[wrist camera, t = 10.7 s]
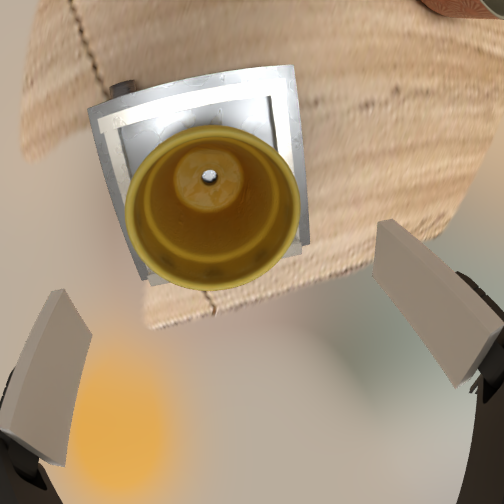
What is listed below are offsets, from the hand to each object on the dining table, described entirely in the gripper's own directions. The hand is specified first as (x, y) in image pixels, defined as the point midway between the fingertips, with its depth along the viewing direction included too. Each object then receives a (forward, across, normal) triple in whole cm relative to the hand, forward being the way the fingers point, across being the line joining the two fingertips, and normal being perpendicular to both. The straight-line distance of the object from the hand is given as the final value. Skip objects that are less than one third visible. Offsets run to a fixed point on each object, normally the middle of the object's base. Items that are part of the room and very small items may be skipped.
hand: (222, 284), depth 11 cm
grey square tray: (+20, 0, 0) cm, 20 cm away
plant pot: (+16, 0, 0) cm, 16 cm away
